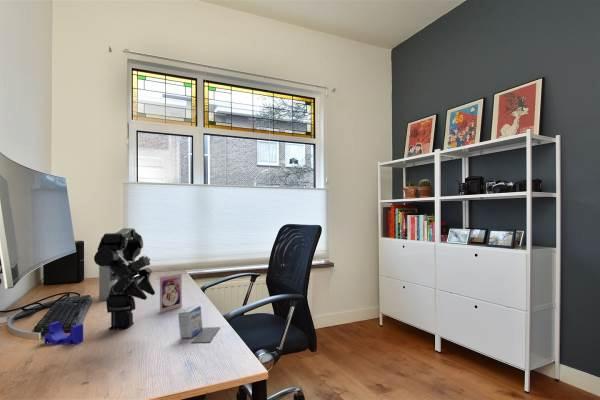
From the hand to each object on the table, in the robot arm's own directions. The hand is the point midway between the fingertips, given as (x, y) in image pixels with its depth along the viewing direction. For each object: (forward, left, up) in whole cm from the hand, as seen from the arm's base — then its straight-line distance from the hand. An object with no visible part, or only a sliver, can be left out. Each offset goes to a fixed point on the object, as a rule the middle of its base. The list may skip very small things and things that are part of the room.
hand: (150, 296), depth 118 cm
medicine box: (+15, 0, -14) cm, 20 cm away
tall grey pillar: (-45, +58, -14) cm, 75 cm away
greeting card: (-7, +34, -14) cm, 37 cm away
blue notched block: (-27, -4, -14) cm, 31 cm away
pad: (+20, -1, -14) cm, 24 cm away
